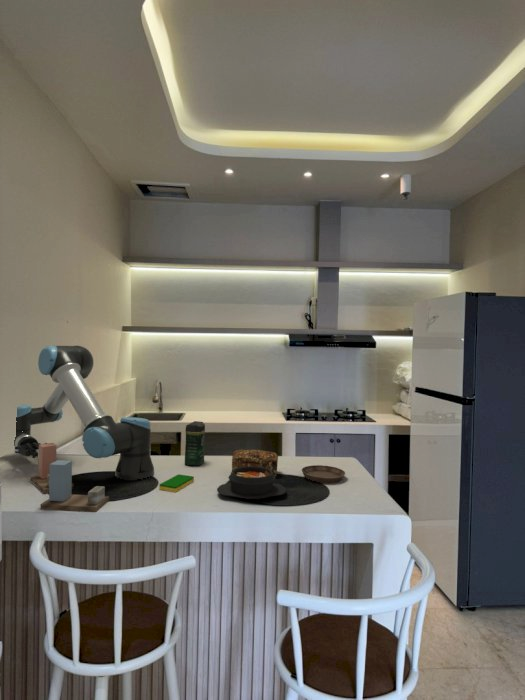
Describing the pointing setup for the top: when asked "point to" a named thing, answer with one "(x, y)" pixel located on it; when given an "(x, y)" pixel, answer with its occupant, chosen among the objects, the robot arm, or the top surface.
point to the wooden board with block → (80, 501)
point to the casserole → (251, 483)
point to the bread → (255, 459)
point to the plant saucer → (323, 473)
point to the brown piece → (42, 483)
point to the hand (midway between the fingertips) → (42, 456)
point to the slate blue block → (60, 480)
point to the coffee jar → (194, 443)
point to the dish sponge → (176, 483)
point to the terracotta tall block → (46, 458)
